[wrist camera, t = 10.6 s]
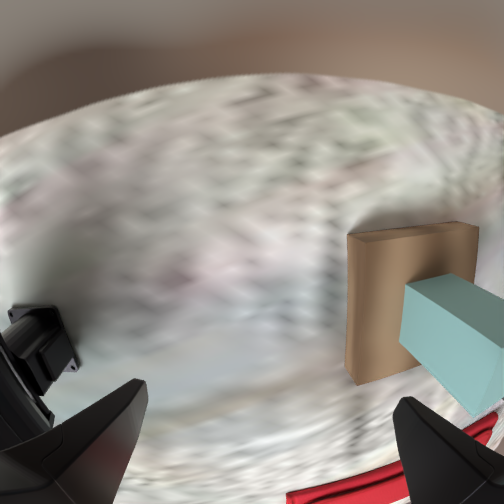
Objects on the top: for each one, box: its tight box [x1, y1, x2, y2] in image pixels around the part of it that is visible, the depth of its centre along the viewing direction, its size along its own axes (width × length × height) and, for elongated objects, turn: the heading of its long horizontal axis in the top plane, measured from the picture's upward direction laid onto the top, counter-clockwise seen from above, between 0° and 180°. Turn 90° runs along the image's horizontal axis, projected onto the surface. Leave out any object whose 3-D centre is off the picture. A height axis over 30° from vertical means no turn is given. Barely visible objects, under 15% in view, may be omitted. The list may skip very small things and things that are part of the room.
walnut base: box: [345, 221, 479, 386], centre depth 21 cm, size 12×12×3 cm
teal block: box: [399, 273, 504, 418], centre depth 15 cm, size 5×5×10 cm
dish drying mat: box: [286, 412, 498, 504], centre depth 31 cm, size 16×41×4 cm, turn 94°
